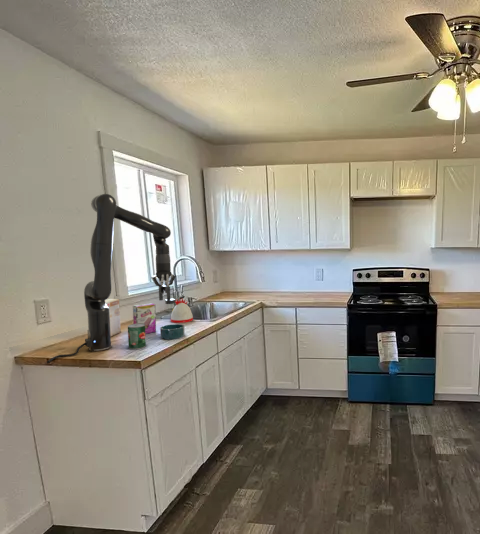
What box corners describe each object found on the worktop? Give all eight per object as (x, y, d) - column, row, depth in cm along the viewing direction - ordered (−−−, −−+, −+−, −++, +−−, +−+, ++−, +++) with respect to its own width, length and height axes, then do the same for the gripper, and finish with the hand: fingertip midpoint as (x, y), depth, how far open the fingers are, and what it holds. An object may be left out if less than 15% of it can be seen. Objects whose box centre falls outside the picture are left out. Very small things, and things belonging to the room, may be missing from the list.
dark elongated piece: (176, 303, 188) (176, 286, 187) (167, 304, 185) (166, 287, 184) (165, 299, 200) (164, 284, 199) (156, 300, 196) (155, 285, 196)
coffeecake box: (109, 331, 201) (108, 298, 200) (121, 332, 201) (119, 298, 199) (92, 339, 187) (90, 303, 185) (104, 339, 186) (102, 303, 184)
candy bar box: (137, 336, 192) (136, 306, 191) (133, 334, 195) (132, 305, 194) (156, 331, 201) (155, 303, 199) (152, 330, 204) (151, 302, 203)
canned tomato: (147, 347, 171) (146, 325, 170) (129, 350, 167) (128, 327, 166) (144, 343, 178) (143, 322, 177) (127, 346, 174) (126, 324, 173)
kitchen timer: (170, 319, 233) (169, 297, 232) (192, 317, 238) (191, 295, 237) (171, 323, 220) (170, 300, 219) (193, 321, 225) (192, 298, 224)
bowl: (166, 341, 182) (165, 330, 181) (157, 336, 191) (156, 326, 191) (188, 336, 190) (188, 326, 190) (178, 332, 199) (178, 322, 199)
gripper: (172, 261, 199) (173, 291, 201) (147, 262, 190) (149, 293, 191) (178, 261, 194) (179, 292, 195) (152, 263, 184) (154, 295, 186)
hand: (164, 293), depth 193 cm, fingers closed on dark elongated piece
